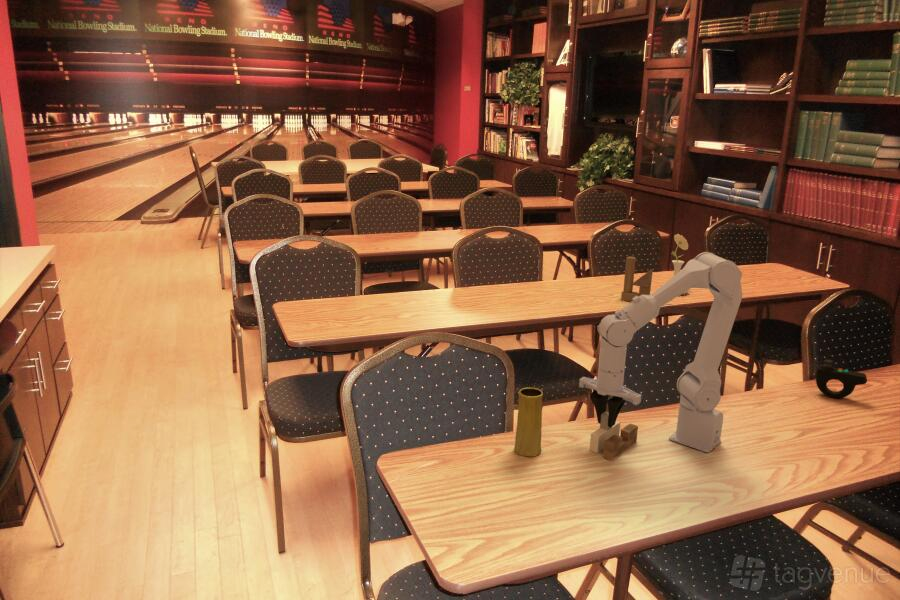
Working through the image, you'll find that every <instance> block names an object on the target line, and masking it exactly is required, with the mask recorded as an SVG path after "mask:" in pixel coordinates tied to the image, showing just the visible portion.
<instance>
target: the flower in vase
mask: <svg viewBox="0 0 900 600" xmlns="http://www.w3.org/2000/svg"><path fill="white" fill-rule="evenodd" d="M673 238H674V242H675V243H676V245H677V246H676V248H675V251H674V250H672V252H671V253H670V255H672V256H673V257H675V260H671V262H672V264H673V268H674V270H673V271H674V272H673V276H675V275H676V274H677V273H678V272H680V271H681V270H682V266H683V264H684V263H685V261H684V260H679V258H681V257H682V256H684V254H681V255H679V256H677V250H678V248H680V249H681V250H684V251H687V250H688V249H689V243H688V240H687V239H686V238H685V237H684V236H683V235H682V234H681V235H680V234H679V233H677V234H674V237H673ZM689 291H690V289H689V290H687V291H686V292H684V293H682V294H681V295H684V294H687V293H689Z"/></svg>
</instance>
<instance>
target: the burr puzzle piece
mask: <svg viewBox="0 0 900 600" xmlns="http://www.w3.org/2000/svg"><path fill="white" fill-rule="evenodd" d="M608 416H609V411H607V410H606V411H605V412H603V413H602V414H601V423H599V427H598V428H597V429H596V430H595V431H593V432H591V433H590V439H589V440H590V442H589V451H592V452H595V453H599V452H601V451H602V450H604V442H605V441H606V440H607V439H608V438H610V437H611V436H613V435H614V434H615V435H618V436H620V432H621V421H620V420H619V421H618V420H616V422H615V425H614V426H612V427H608Z"/></svg>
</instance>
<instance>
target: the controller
mask: <svg viewBox="0 0 900 600" xmlns="http://www.w3.org/2000/svg"><path fill="white" fill-rule="evenodd" d="M823 362H824V364H823V363H822V364H817V365H816V367H815V368H816V370H815V371H814V376H813V378H815V383H816V387H817V388H818V390H819V391H820V392H821V393H822V394H823V395H825V396H827V397H829V398H832V399H842V398H843V399H844V398H846V397H848V396H849V395H851V394H852V393H853V391H854V390H855V388H856V386H861V385H862V386H863V385H865V384H867V382H868V377H867V374H866V373H863V372H859V371H852V370H848V369H843V368H842V367H839V368H838V367H835V366H833V363H834V361H833V360H831V359H824V360H823ZM832 380H833V381H834V380H836V381H838V382H840V383H841V384H842V387H843V388H841V390H838V391H834V390H831V389H830V388H829V387H828V385H827V383H829V381H832Z"/></svg>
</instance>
